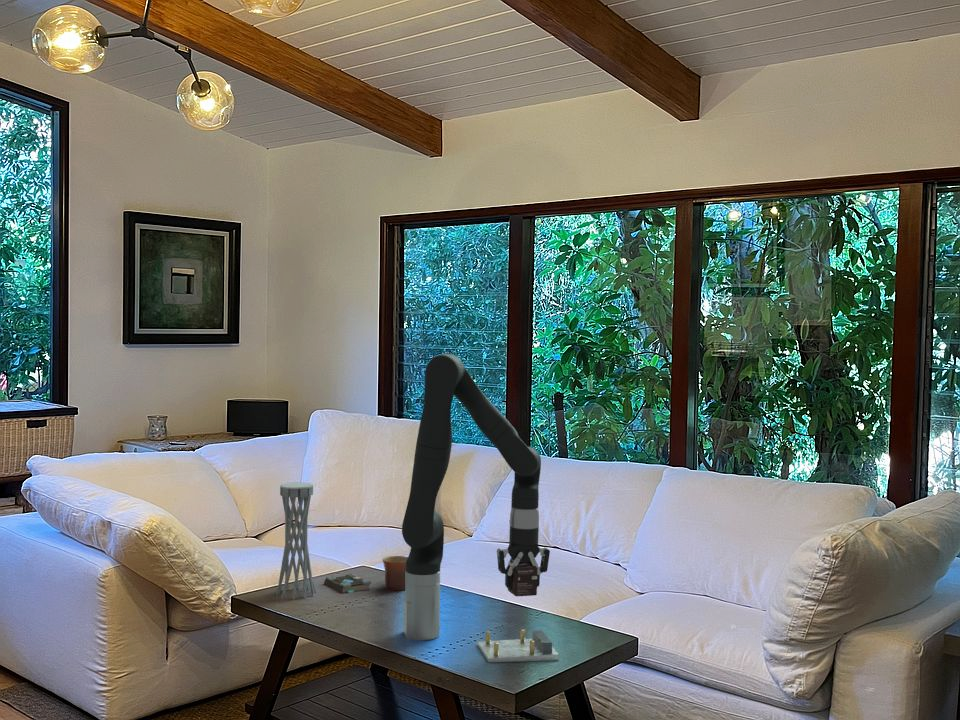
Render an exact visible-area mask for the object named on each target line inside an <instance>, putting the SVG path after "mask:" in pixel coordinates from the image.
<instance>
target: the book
mask: <svg viewBox="0 0 960 720" xmlns="http://www.w3.org/2000/svg"><path fill="white" fill-rule="evenodd" d="M371 584H372V581H371V580H369V579H365V578H362V577H359V576H357V575H356V574H355V573H348V574H347V573H346V574H345V575H341V576H335V575H331V576H326V577H325V579H324V583H323V585H325V586H326V587H328V588H331V589H333V590H334V591H337V592H338V593H341V594H345V593H347V594H351V593H354V592H359V591H366V590H370V586H371Z"/></svg>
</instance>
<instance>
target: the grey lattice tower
mask: <svg viewBox="0 0 960 720" xmlns="http://www.w3.org/2000/svg"><path fill="white" fill-rule="evenodd" d="M279 485H280V486H279V496H281V498H282V504H283V511H284V515H285V516H284V532H285V533H284V549H283V555H282V561H281V566H280V574H279V578H278V585H277V588H276V592H275V596H279V595H280V593H281V596H280V598H281V599H284V598H286V594H287V591H288V590H289V589H290V588H289V587H290V586H289V583H290V582H289V581H290V577H291V574H292V571H293V574H294V583H293V589H292V590H293V591H292V596H291V599H292V600H295V599H296V596H297V595H296V593H297V590H300V583H299V576H300V575H299V574H300V569H301V573H302V577H303V579H302V580H303V585H302V586H303V588H302V589H303V590H302V594H303V596H302V597H303V599H305V600H306V599H307V598H308V591H310V595H311V597H315V595H316V593H317V591H316V587H315V583H314V579H313V573H312V567H311V565H312V564H311V558H310V553H309V547H308V516H309V511H310V503H311V497H312V496H313V495H314V483H310V482H286V483H280V484H279ZM296 500H297V501H298V502H297V503H298V507H296ZM290 503H291V504H290ZM290 505H291V507H290ZM293 518H294V519H293ZM299 542H300V543H299ZM293 543H294V545H293ZM290 554H291V555H290ZM296 554H297V556H298V558H297V564H296ZM302 554H303V555H302ZM289 556H291V557H289ZM289 559H290V560H289ZM300 567H301V568H300ZM283 580H284V585H283ZM282 586H283V587H282ZM281 591H282V592H281Z"/></svg>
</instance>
